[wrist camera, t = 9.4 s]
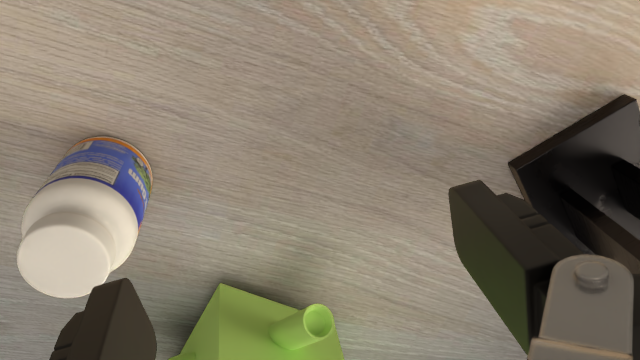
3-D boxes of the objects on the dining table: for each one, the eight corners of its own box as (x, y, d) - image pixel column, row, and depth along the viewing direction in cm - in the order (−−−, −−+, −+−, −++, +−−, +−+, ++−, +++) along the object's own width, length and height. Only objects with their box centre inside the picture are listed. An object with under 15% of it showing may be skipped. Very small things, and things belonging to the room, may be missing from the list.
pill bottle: (153, 214, 34) (129, 313, 25) (63, 211, 33) (6, 313, 24) (154, 136, 32) (127, 214, 23) (57, 129, 31) (-9, 209, 22)
